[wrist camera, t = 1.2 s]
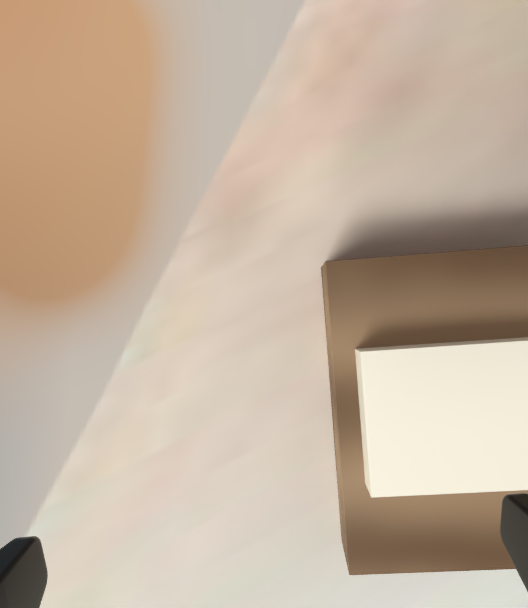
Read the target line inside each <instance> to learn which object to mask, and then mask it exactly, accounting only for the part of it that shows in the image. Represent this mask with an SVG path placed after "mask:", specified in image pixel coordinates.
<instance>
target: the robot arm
mask: <svg viewBox="0 0 528 608" xmlns="http://www.w3.org/2000/svg"><path fill="white" fill-rule="evenodd" d="M500 535H501V539H502V542H503V544H504V546H505V548H506V550H507V552H508V554H509V556H510V558H511V560H512V562H513V564H514V566H515V568H516V570H517V571H518V573H519V575H520V577H521V579H522V581H523V583H524V585H525V587H526V589H527V591H528V494H527V493H515V494H507V495H505V496H504V497H503V499H502V508H501V521H500ZM46 584H47V567H46V563H45V558H44V554H43V549H42V544H41V541H40V539H39V538H38V537H36V536H31V537H20V538H15V539H14V540H12V541H10V542H9V543H8V544H6V545H5V546H4V547H2V548H1V549H0V608H39V607H40V604H41V601H42V597H43V594H44V591H45V588H46Z"/></svg>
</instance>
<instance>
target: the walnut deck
mask: <svg viewBox="0 0 528 608" xmlns="http://www.w3.org/2000/svg"><path fill="white" fill-rule="evenodd" d="M321 271H322V284H323V298H324V311H325V324H326V337H327V351H328V364H329V377H330V390H331V403H332V417H333V430H334V443H335V456H336V470H337V483H338V496H339V509H340V523H341V536H342V543H343V548H344V552H345V557H346V562H347V566H348V571H349V575H364V574H391V573H417V572H444V571H470V570H497V569H516V568H515V566H514V564H513V562H512V560H511V558H510V556H509V554H508V552H507V550H506V548H505V546H504V544H503V542H502V539H501V535H500V521H501V508H502V499H503V497H504V496H505V495H507V494H515V493H527V494H528V490H519V491H498V492H477V493H456V494H436V495H415V496H394V497H373V498H371V496H370V493H369V491H368V489H367V486H366V484H365V474H364V461H363V448H362V434H361V421H360V408H359V395H358V382H357V369H356V356H355V349H358V348H373V347H388V346H403V345H418V344H433V343H448V342H462V341H477V340H492V339H507V338H522V337H528V246H515V247H503V248H490V249H477V250H465V251H452V252H440V253H427V254H414V255H402V256H389V257H376V258H364V259H351V260H338V261H326V262H325V263H324V265H323V266H322V267H321Z"/></svg>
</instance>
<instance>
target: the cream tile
mask: <svg viewBox="0 0 528 608" xmlns="http://www.w3.org/2000/svg"><path fill="white" fill-rule="evenodd" d="M355 356H356V369H357V382H358V395H359V408H360V421H361V434H362V448H363V461H364V474H365V484H366V486H367V489H368V491H369V493H370V496H371V498H373V497H394V496H415V495H436V494H456V493H477V492H498V491H519V490H528V337H522V338H507V339H492V340H477V341H462V342H448V343H433V344H418V345H403V346H388V347H373V348H358V349H355Z"/></svg>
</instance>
